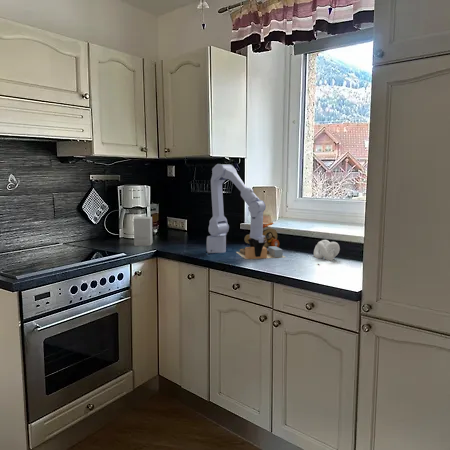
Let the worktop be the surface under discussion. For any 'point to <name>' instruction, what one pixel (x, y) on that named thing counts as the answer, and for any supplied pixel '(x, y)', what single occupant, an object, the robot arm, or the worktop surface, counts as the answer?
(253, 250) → the orange block
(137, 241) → the supplement box
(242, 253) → the jig
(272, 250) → the pale grey rectangular block
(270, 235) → the toy helicopter
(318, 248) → the pretzel
